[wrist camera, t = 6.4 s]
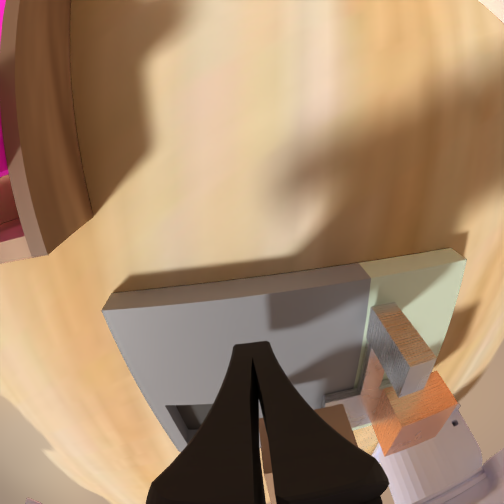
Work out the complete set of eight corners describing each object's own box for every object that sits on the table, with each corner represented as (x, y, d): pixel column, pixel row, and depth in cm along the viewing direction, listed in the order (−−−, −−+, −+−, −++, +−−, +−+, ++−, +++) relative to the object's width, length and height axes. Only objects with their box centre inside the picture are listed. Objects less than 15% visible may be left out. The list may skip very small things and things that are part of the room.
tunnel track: (450, 247, 14) (529, 310, 8) (405, 398, 19) (436, 459, 13) (111, 293, 13) (59, 393, 7) (180, 435, 19) (175, 508, 13)
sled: (460, 278, 12) (511, 325, 8) (416, 400, 17) (439, 444, 13) (330, 305, 12) (366, 379, 8) (319, 428, 17) (332, 482, 13)
